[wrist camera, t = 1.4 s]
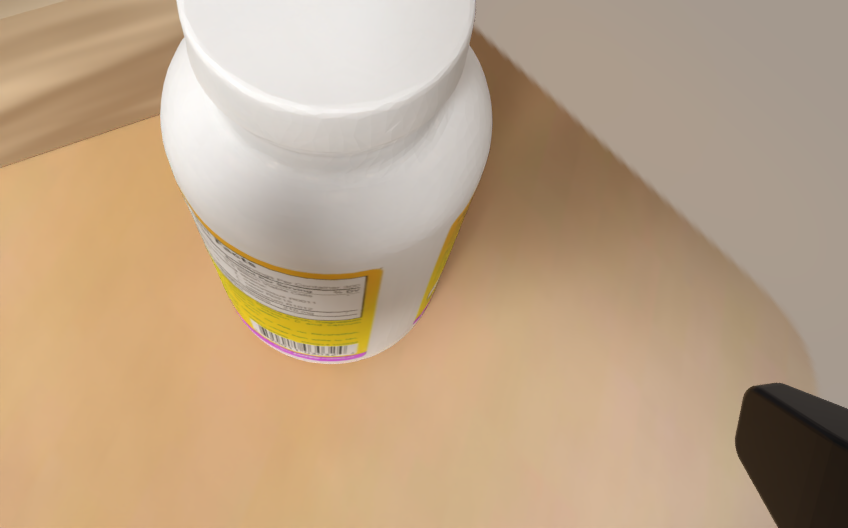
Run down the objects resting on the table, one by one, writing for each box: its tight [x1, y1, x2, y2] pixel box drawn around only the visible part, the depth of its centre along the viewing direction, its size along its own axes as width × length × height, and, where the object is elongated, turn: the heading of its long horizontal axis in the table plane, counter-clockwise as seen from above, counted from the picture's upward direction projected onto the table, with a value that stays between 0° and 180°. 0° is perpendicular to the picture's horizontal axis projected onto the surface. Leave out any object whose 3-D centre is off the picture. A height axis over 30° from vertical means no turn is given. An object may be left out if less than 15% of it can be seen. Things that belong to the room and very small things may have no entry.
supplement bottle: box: [160, 0, 492, 364], centre depth 17 cm, size 7×7×13 cm
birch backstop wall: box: [0, 0, 184, 168], centre depth 21 cm, size 2×13×6 cm, turn 117°
